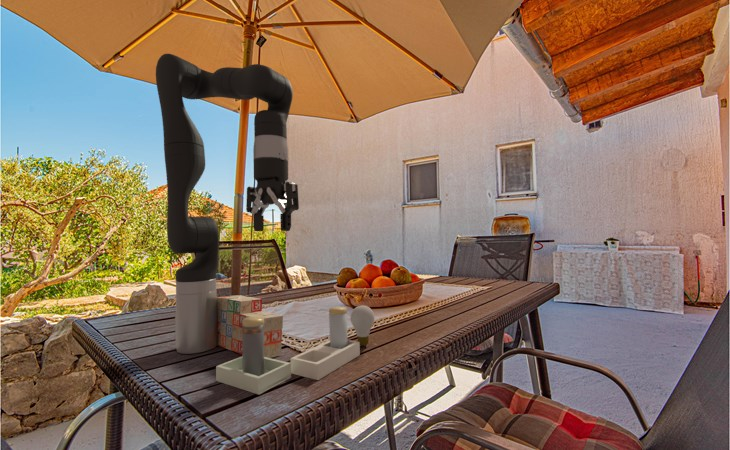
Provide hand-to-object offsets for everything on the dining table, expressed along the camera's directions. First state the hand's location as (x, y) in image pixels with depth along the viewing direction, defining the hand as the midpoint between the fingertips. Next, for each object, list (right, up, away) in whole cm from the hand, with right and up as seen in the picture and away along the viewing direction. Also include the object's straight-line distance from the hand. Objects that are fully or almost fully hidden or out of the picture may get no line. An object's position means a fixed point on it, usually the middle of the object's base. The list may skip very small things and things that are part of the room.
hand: (271, 231), depth 76 cm
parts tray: (-1, -29, -10) cm, 30 cm away
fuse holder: (+13, -29, -3) cm, 31 cm away
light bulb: (+20, -29, +8) cm, 36 cm away
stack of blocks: (-9, -30, +8) cm, 32 cm away
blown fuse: (-1, -28, -10) cm, 30 cm away
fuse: (+15, -29, +1) cm, 32 cm away
